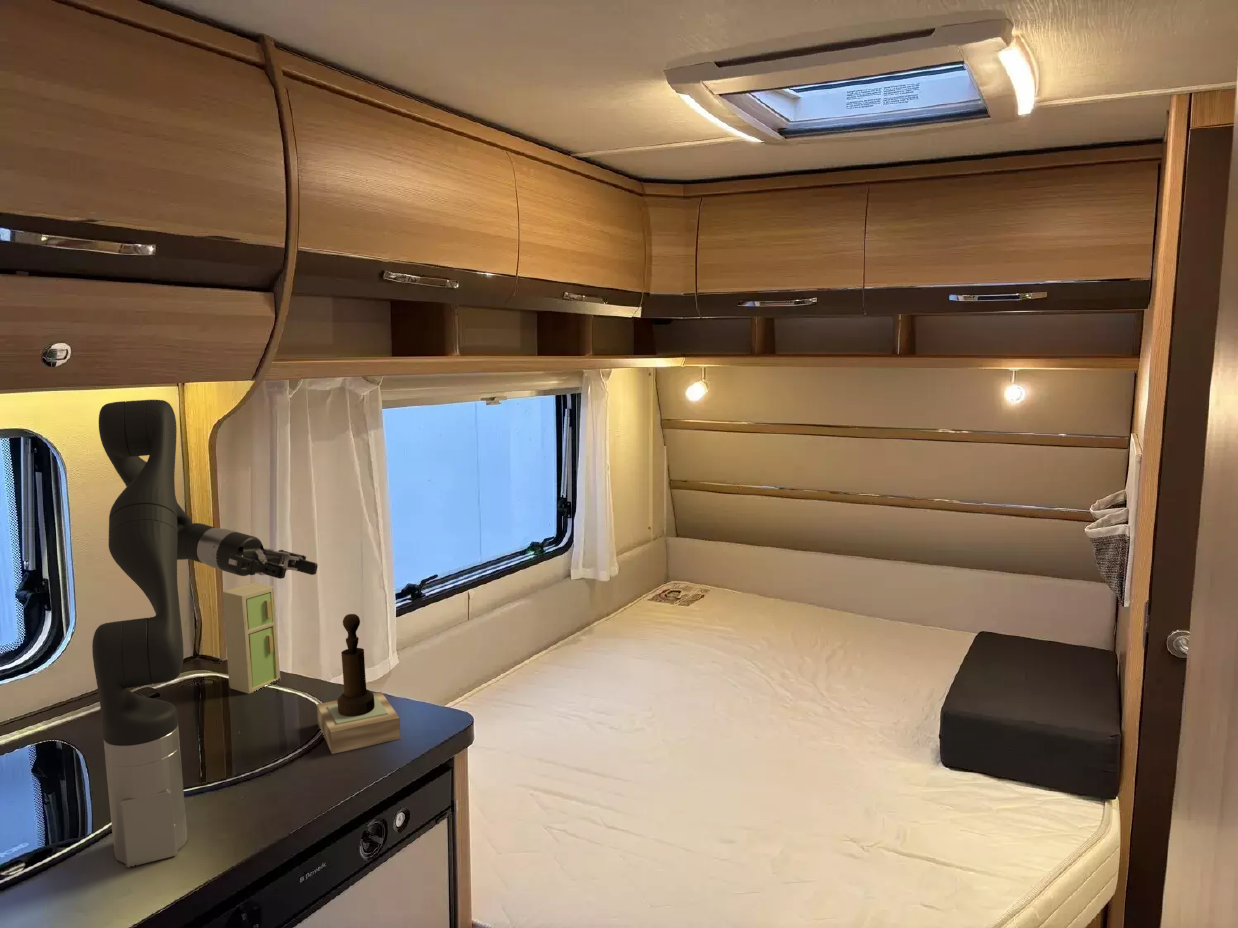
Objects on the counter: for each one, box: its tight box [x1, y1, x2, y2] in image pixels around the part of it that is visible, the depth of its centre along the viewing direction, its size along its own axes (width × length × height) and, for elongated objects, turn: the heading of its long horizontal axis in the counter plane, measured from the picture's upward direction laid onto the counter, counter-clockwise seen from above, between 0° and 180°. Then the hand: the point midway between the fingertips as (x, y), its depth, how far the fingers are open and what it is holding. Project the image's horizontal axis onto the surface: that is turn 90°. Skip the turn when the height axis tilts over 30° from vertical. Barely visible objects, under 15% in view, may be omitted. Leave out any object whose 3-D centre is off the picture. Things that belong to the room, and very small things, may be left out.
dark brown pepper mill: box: [337, 613, 375, 716], centre depth 160 cm, size 7×6×18 cm
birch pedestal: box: [316, 691, 402, 755], centre depth 162 cm, size 14×12×4 cm
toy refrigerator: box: [221, 582, 281, 695], centre depth 184 cm, size 8×7×21 cm
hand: (300, 571), depth 159 cm, fingers open, 8 cm apart
